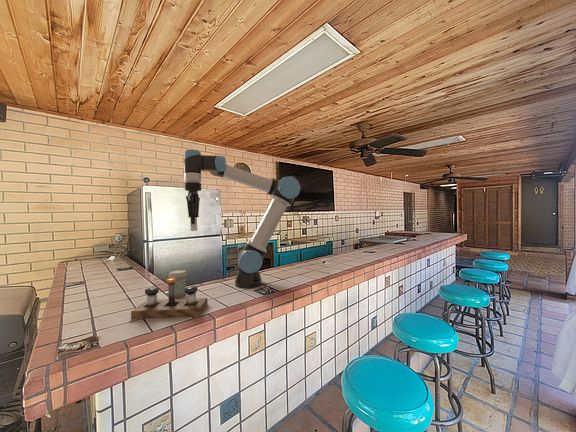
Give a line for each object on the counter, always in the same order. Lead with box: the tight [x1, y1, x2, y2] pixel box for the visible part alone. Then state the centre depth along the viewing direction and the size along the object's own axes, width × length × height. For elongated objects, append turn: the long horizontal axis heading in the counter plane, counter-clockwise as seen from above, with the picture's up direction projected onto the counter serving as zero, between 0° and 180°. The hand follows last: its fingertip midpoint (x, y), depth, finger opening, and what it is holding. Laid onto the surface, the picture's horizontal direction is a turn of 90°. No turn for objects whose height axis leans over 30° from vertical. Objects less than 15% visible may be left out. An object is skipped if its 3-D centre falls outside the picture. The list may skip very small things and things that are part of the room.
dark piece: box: [166, 278, 176, 305], centre depth 99 cm, size 3×3×10 cm
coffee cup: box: [168, 269, 188, 298], centre depth 118 cm, size 8×8×12 cm
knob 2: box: [185, 285, 198, 306], centre depth 100 cm, size 5×5×10 cm
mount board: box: [130, 297, 209, 320], centre depth 99 cm, size 26×12×3 cm, turn 93°
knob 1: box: [144, 286, 160, 307], centre depth 99 cm, size 5×5×10 cm
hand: (194, 230), depth 116 cm, fingers closed
